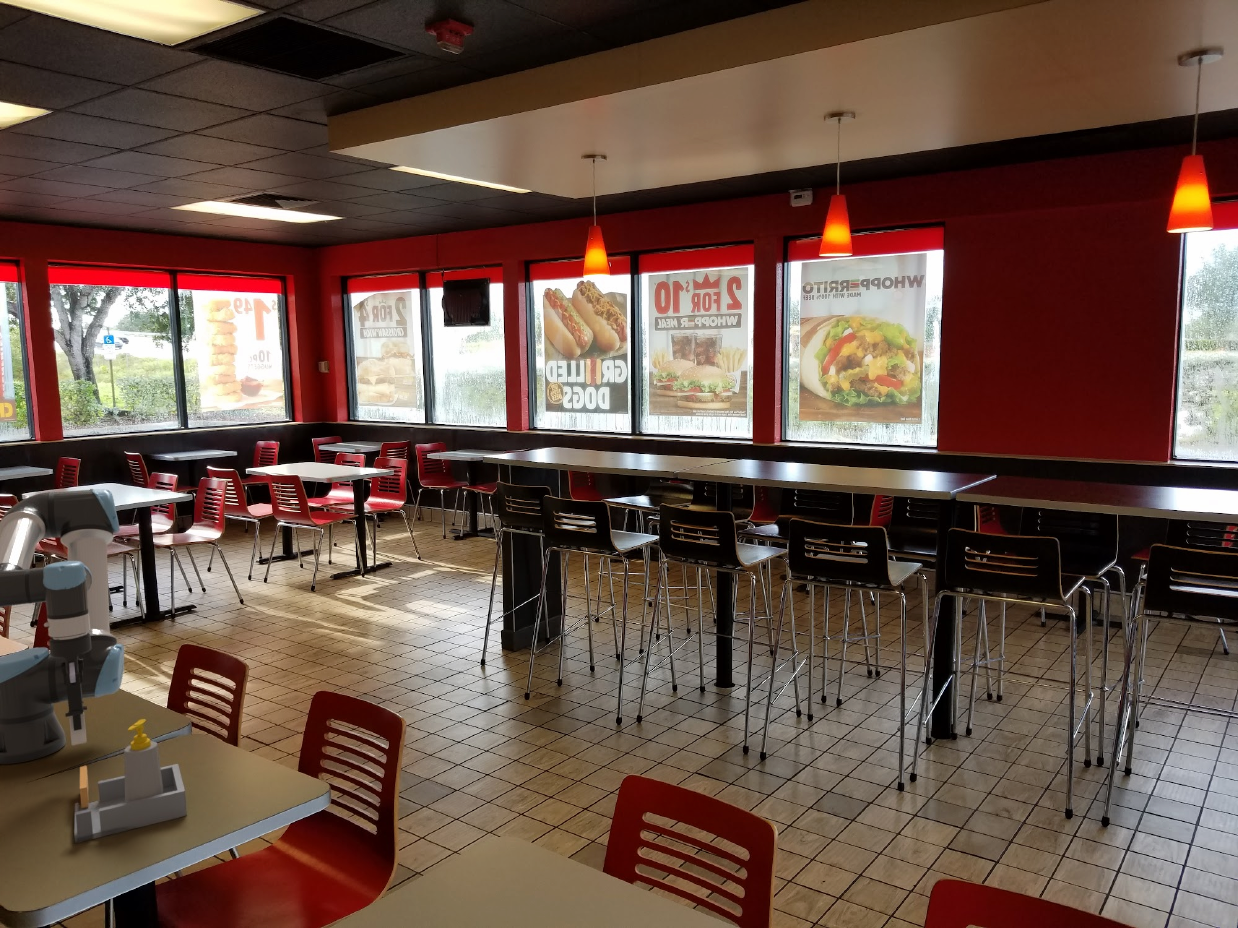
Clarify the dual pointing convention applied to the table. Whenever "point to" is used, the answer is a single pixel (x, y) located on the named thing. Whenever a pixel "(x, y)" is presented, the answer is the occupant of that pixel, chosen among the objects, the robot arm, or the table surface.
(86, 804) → the orange long flat block
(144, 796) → the soap bottle
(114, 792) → the box
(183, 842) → the table surface
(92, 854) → the table surface
